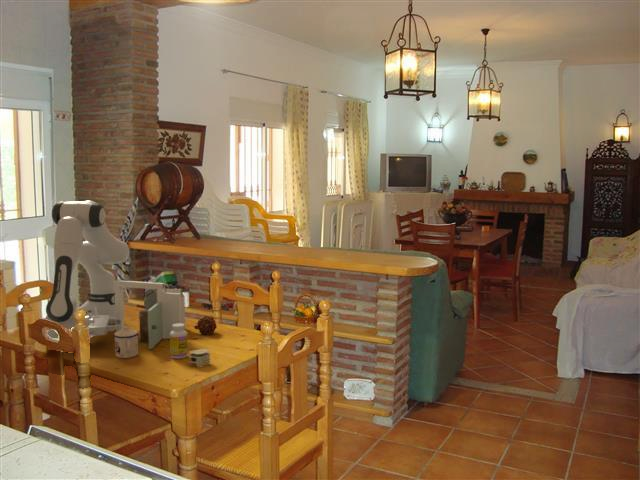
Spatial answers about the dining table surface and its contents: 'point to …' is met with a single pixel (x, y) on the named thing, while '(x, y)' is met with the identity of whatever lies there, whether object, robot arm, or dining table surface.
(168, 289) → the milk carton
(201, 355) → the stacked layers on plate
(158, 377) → the dining table surface
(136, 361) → the dining table surface
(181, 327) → the supplement bottle
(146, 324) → the post
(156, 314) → the door
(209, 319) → the pine cone
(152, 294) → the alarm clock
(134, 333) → the teacup with lid
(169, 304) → the door frame
